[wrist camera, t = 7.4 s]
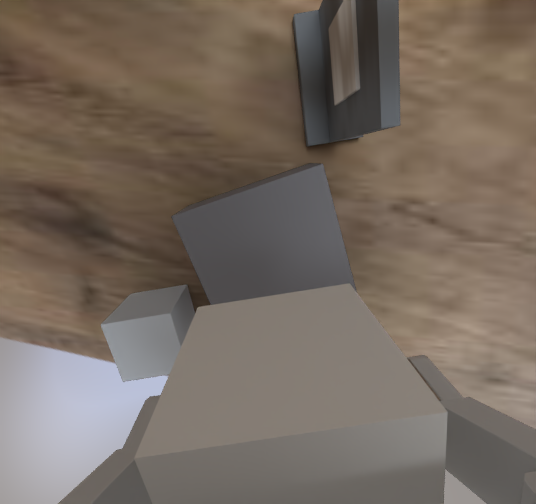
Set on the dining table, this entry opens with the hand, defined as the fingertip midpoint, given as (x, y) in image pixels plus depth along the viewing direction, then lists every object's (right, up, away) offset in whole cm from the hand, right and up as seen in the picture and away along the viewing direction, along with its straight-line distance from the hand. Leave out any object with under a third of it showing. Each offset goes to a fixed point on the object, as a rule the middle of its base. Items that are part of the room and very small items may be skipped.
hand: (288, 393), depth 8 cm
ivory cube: (0, 0, +2) cm, 2 cm away
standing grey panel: (+4, +16, +12) cm, 20 cm away
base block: (-1, +5, +15) cm, 16 cm away
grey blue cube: (-10, -1, +17) cm, 20 cm away
